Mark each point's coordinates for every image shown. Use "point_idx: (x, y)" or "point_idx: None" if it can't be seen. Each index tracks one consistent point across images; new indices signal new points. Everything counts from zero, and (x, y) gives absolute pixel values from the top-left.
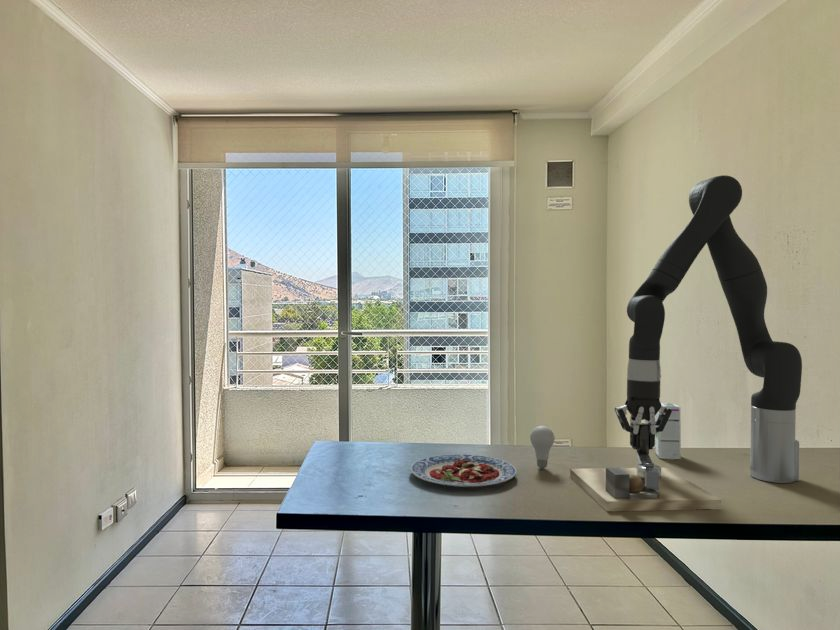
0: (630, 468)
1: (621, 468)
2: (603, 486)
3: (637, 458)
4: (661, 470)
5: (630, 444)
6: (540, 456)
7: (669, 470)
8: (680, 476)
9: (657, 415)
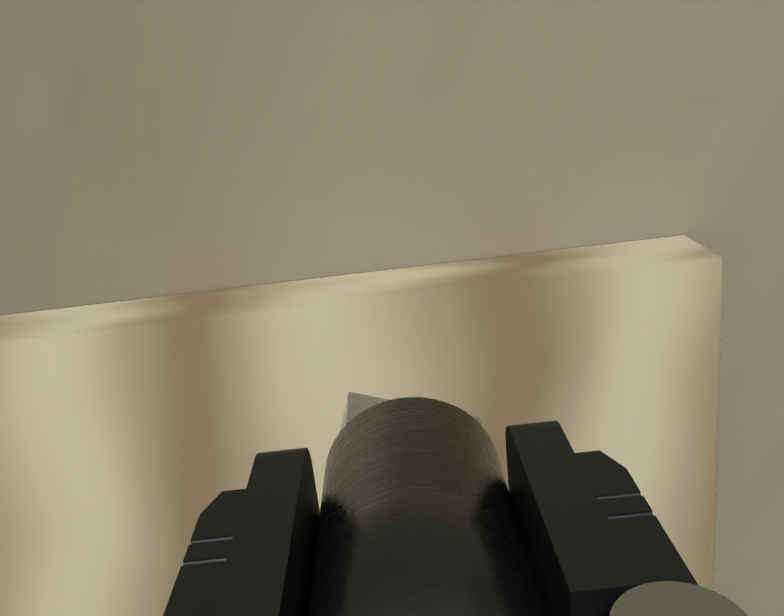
0: (279, 330)
1: (173, 336)
2: None
3: (342, 423)
4: (608, 380)
5: (211, 516)
6: None
7: (698, 375)
8: (704, 557)
9: None
